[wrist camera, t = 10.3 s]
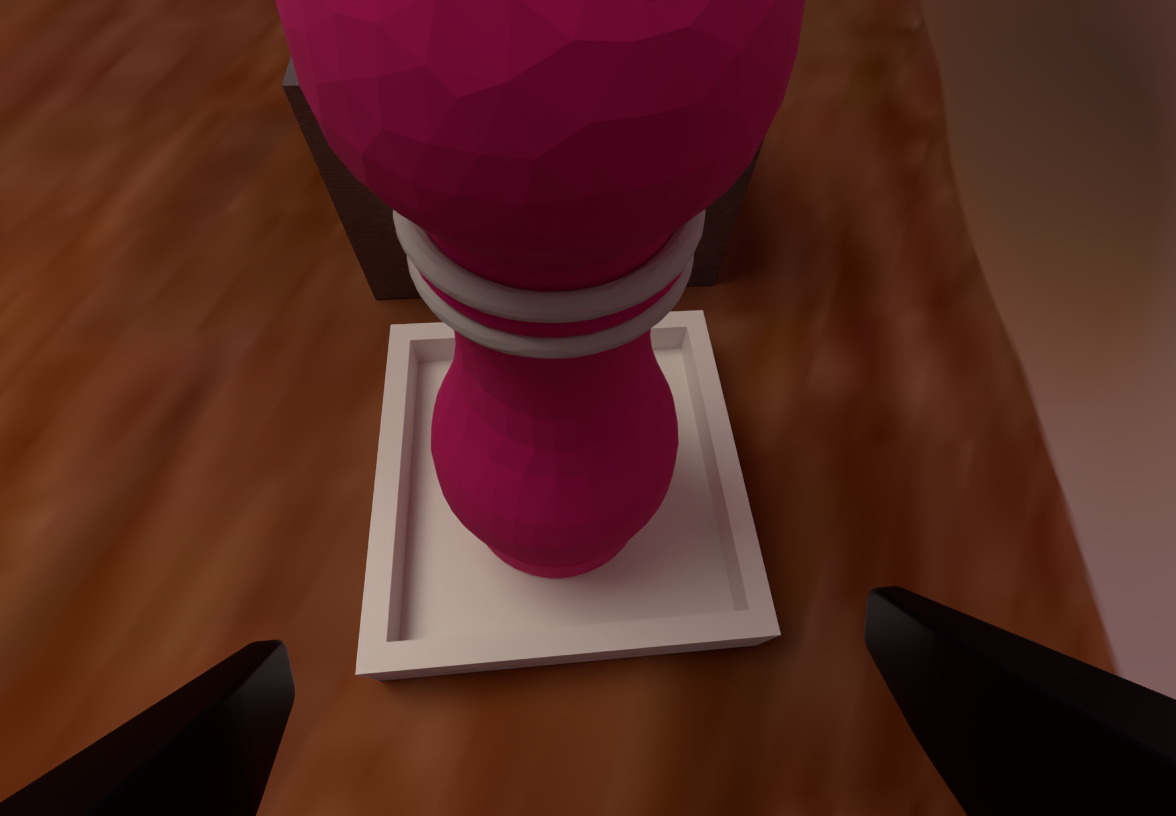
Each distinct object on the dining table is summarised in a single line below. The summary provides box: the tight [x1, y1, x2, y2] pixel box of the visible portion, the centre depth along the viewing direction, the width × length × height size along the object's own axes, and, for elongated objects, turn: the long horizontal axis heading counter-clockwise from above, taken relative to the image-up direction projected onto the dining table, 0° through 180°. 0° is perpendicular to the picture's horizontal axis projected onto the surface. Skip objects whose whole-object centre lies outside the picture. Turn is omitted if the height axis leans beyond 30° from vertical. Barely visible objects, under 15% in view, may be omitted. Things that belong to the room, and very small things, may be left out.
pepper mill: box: [276, 0, 805, 578], centre depth 12 cm, size 7×7×20 cm
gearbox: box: [282, 57, 764, 299], centre depth 24 cm, size 12×16×13 cm
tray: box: [355, 310, 781, 681], centre depth 21 cm, size 13×13×2 cm
